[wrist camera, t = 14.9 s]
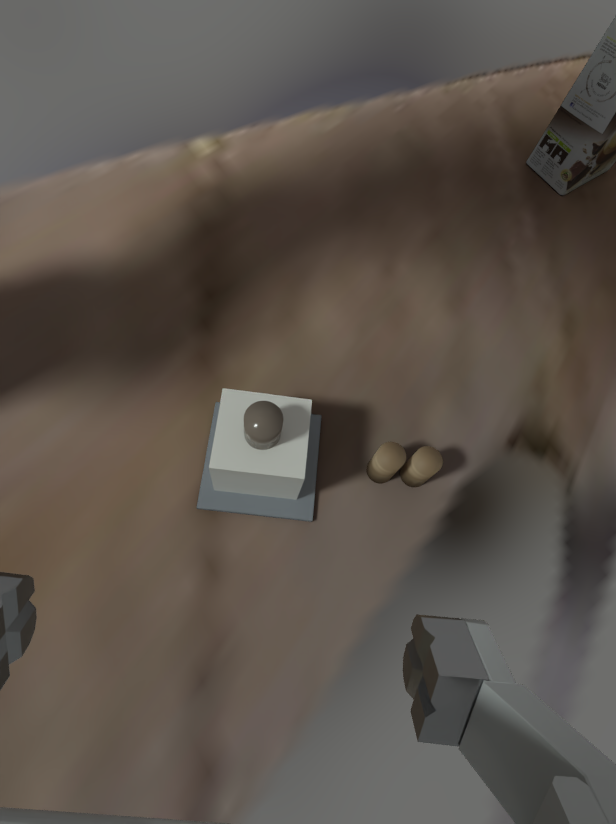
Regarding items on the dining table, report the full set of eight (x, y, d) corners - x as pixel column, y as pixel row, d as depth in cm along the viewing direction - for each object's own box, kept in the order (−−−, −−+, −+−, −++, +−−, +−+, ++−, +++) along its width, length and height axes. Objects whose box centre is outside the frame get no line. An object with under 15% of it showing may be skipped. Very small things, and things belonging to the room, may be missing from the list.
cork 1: (365, 481, 41) (377, 467, 37) (366, 456, 42) (378, 440, 38) (391, 484, 41) (406, 471, 37) (392, 459, 42) (406, 443, 38)
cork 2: (399, 485, 41) (414, 471, 37) (400, 460, 42) (414, 444, 38) (425, 488, 41) (443, 475, 38) (425, 463, 42) (442, 447, 39)
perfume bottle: (214, 490, 39) (206, 456, 31) (226, 419, 41) (221, 371, 34) (296, 499, 39) (308, 468, 32) (303, 429, 42) (316, 384, 34)
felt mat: (197, 508, 38) (196, 507, 38) (216, 403, 42) (215, 401, 42) (311, 521, 39) (312, 520, 39) (320, 417, 43) (321, 415, 42)
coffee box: (562, 198, 57) (672, 50, 42) (523, 163, 59) (616, 8, 44) (610, 171, 60) (729, 22, 45) (572, 137, 62) (674, -16, 47)
